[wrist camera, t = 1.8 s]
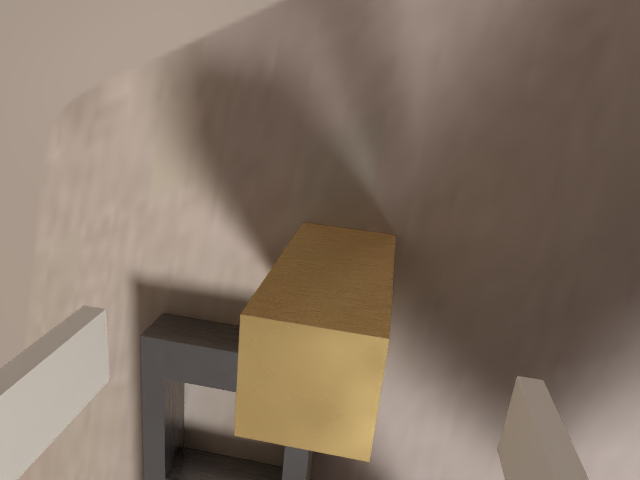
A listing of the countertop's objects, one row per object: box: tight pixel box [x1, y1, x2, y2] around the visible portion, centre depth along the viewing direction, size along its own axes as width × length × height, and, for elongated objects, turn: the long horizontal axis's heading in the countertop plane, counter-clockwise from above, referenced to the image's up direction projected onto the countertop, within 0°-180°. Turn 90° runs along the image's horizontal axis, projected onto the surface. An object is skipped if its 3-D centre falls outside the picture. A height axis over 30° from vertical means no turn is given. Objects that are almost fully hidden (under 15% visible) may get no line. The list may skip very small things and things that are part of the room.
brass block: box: [234, 222, 396, 462], centre depth 20 cm, size 4×4×10 cm
